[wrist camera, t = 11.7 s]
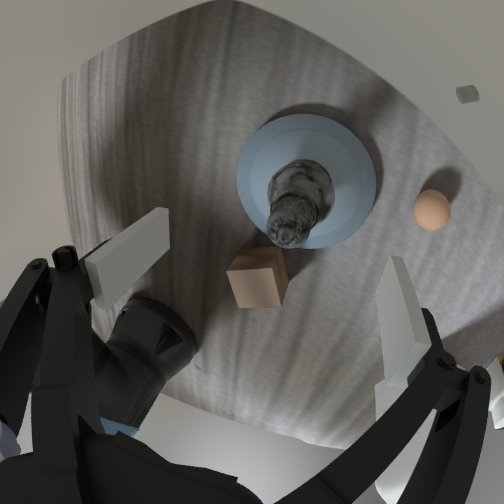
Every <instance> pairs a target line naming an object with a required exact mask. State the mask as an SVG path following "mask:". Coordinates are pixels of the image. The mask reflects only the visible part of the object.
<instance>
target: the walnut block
mask: <svg viewBox="0 0 504 504" xmlns="http://www.w3.org/2000/svg"><path fill="white" fill-rule="evenodd" d="M226 272H227V275H228V278H229V281H230V284H231V287H232V290H233V293H234V296H235V299H236V302H237V304H238V307H239V308H275V307H282V304H283V301H284V297H285V294H286V291H287V287H288V284H289V279H288V274H287V269H286V265H285V260H284V255H283V251H282V247H280V246H278V245H276V246H266V247H256V248H246V249H240V251H239V252H238V254H237V255H236V257H235V258H234V260H233V261H232V263H231V264H230V266H229V267H228V269H227V271H226Z"/></svg>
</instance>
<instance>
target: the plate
mask: <svg viewBox="0 0 504 504" xmlns="http://www.w3.org/2000/svg"><path fill="white" fill-rule="evenodd" d="M298 159H309V160H313V161H315V162H318V163H320V164H321V165H322V166H323V167H324V168H325V169H326V170H327V172H328V173H329V175H330V177H331V180H332V185H333V187H334V190H335V203H334V207H333V209H332V211H331V213H330V215H329V216H328V217H327V218H326V219H325V220H324V221H323V222H321V223H320V224H318V225H316V226H315V227H314V228H313V229H311V230H310V235H309V237H308V239H307V240H306V241H305V242H304V243H303V244H302V245H300V246H298V247H296V248H303V249H317V248H323V247H328V246H331V245H334V244H337V243H339V242H341V241H343V240H345V239H346V238H348V237H350V236H351V235H352V234H353V233H355V232H356V231H357V230H358V229H359V228H360V227H361V225H362V224H363V223H364V221H365V220H366V219H367V217H368V215H369V213H370V211H371V209H372V206H373V203H374V199H375V194H376V175H375V170H374V166H373V163H372V160H371V158H370V155H369V154H368V152H367V150H366V148H365V147H364V145H363V144H362V143H361V141H360V140H359V139H358V138H357V137H356V136H355V135H354V134H353V133H352V132H351V131H350V130H349V129H347V128H346V127H345V126H343V125H342V124H340V123H338V122H337V121H335V120H332V119H330V118H327V117H324V116H320V115H315V114H293V115H287V116H284V117H281V118H278V119H275V120H273V121H271V122H269V123H268V124H266V125H264V126H263V127H261V128H260V129H259V130H258V131H257V132H256V133H255V134H254V135H253V136H252V137H251V138H250V140H249V141H248V142H247V144H246V146H245V147H244V149H243V151H242V153H241V156H240V159H239V162H238V167H237V189H238V194H239V198H240V200H241V203H242V206H243V208H244V209H245V211H246V213H247V215H248V216H249V218H250V219H251V220H252V222H253V223H254V224H255V225H256V226H257V227H258V228H259V229H260V230H261V231H262V232H264V233H265V234H266V235H268V234H267V229H266V224H267V220H268V218H269V216H270V205H269V203H268V197H267V191H268V185H269V182H270V180H271V178H272V177H273V175H274V174H275V173H276V172H277V171H278V170H279V169H281V168H282V167H284V166H286V165H288V164H289V163H291V162H292V161H295V160H298Z"/></svg>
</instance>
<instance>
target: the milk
mask: <svg viewBox="0 0 504 504" xmlns="http://www.w3.org/2000/svg"><path fill="white" fill-rule="evenodd" d="M456 364H457V363H456ZM457 367H458V368H460V369H462V370H465V368H463V367H461V366H460V365H458V364H457ZM407 387H408V383H407V379H406V381H405V382H404V383H403V384H402V386H401V387H396V386H387V385H385V379H384V380H383V381H381V382H380V383H378V384H377V385H375V399H376V421H377V420H378V419H379V418H380V417H381V416H382V415H383V414H384V413H385V412H386V411H387V410H388V409H389V408H390V406H391V405H392V404H393V403H394V402H395V401H396V400H397V399H398V397H399V396H400V395H401V394H402V393H403V392H404V390H405V389H406V388H407ZM436 412H437V410H435V409H433V410H432V411H431V413H430V414H429V416H428V417H427V418H426V420H425V421H424V423H423V424H422V426H421V427H420V428H419V430H418V431H417V432H416V434H415V435H414V436H413V438H412V439H411V440H410V441H409V443H408V444H407V445H406V446H405V448H404V449H403V450H402V451H401V453H400V454H399V455H398V456H397V457H396V458H395V460H394V461H393V462H392V463H391V464H390V465H389V466H388V468H387V469H386V470H385V471H384V472H383V473H382V474H381V475H380V476H379V477H378V478H377V479H376V480H375V485H376V489H377V491H378V493H379V494H380V495H381V497H382V498H383V499H384V500H385V501H386V503H387V504H396V503H397V501H398V500H399V498H400V496H401V494H402V492H403V490H404V489H405V487H406V485H407V483H408V481H409V479H410V477H411V475H412V473H413V470H414V468H415V466H416V464H417V462H418V459H419V457H420V455H421V452H422V450H423V448H424V445H425V443H426V440H427V438H428V435H429V432H430V429H431V427H432V424H433V421H434V418H435V415H436Z"/></svg>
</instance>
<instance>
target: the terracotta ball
mask: <svg viewBox="0 0 504 504" xmlns="http://www.w3.org/2000/svg"><path fill="white" fill-rule="evenodd" d="M413 210H414V216H415V218H416V220H417V222H418V223H419V224H420V225H421V226H422V227H423V228H425V229H427V230H438V229H441V228H442V227H444V226H445V225H446V223H447V222H448V220H449V217H450V204H449V202H448V200H447V198H446V197H445V196H444V195H443V194H442V193H441V192H439V191H437V190H432V189H430V190H425V191H423V192H421V193H420V194H419V195H418V196H417V198H416V200H415V202H414V207H413Z"/></svg>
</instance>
